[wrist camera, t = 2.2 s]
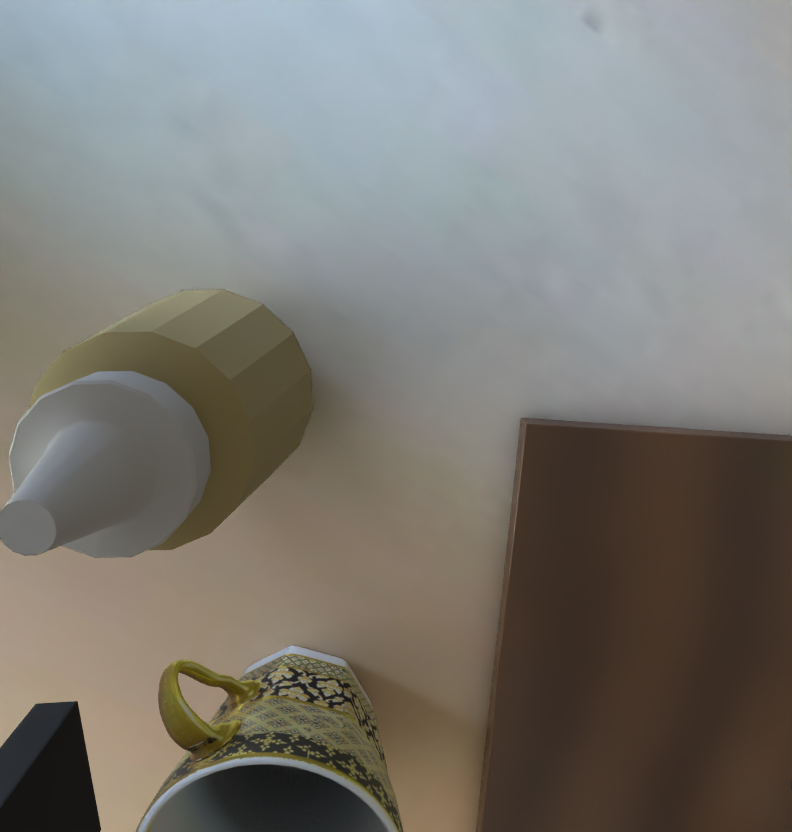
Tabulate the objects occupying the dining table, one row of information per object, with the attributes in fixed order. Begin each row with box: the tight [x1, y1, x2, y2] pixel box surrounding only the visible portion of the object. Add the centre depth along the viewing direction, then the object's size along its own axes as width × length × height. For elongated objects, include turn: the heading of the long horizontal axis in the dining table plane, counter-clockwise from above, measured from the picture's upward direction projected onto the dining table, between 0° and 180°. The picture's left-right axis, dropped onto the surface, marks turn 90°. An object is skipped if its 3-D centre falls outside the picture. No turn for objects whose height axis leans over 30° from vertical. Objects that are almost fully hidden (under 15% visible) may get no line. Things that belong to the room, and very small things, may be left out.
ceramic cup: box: [136, 645, 403, 832], centre depth 30 cm, size 13×10×10 cm
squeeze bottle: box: [0, 289, 313, 558], centre depth 23 cm, size 8×8×18 cm
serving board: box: [476, 418, 792, 832], centre depth 34 cm, size 20×24×1 cm
